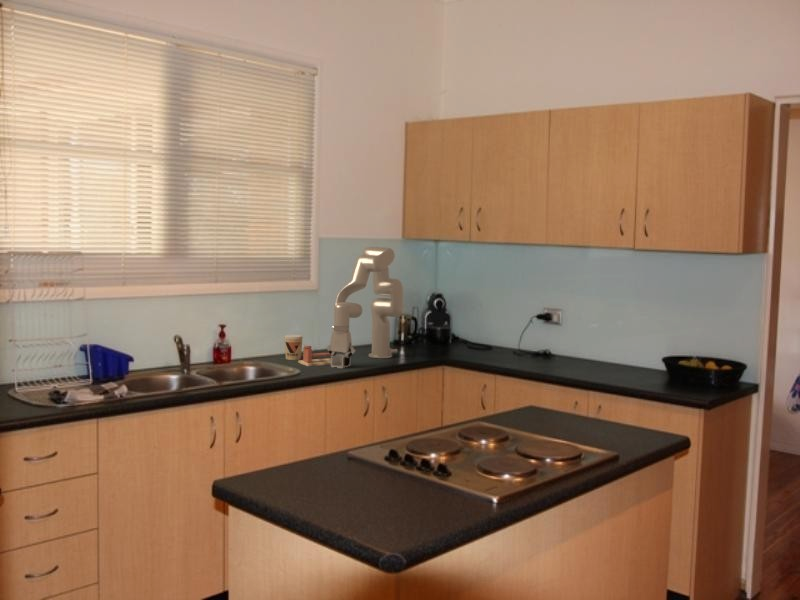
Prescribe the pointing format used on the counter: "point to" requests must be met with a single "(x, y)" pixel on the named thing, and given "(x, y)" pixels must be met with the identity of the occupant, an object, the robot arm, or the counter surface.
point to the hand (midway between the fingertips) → (340, 364)
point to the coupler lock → (339, 361)
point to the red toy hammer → (308, 354)
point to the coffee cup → (293, 347)
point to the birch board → (316, 362)
